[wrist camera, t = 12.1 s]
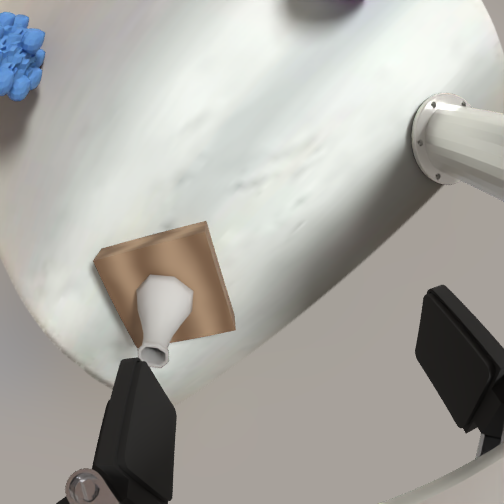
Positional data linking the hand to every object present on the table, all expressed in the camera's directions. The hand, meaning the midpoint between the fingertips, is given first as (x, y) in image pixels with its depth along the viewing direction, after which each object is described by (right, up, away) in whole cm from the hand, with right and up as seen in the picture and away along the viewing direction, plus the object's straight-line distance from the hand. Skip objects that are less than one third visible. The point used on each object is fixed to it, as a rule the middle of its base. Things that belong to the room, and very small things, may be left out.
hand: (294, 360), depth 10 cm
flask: (-12, -2, +28) cm, 31 cm away
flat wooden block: (-12, 0, +31) cm, 34 cm away
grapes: (-25, +27, +16) cm, 40 cm away
